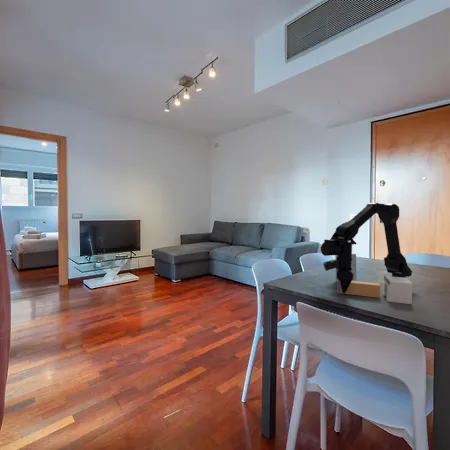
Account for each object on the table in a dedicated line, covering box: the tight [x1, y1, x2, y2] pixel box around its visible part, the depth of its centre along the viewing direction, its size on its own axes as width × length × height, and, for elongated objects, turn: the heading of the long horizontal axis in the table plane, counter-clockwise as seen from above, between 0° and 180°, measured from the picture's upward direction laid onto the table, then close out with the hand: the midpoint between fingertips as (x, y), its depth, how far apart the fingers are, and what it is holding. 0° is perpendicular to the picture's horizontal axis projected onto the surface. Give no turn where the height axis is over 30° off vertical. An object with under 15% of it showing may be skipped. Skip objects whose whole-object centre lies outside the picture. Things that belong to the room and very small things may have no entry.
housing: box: [382, 275, 413, 305], centre depth 110 cm, size 10×8×8 cm
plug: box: [336, 280, 381, 298], centre depth 116 cm, size 4×16×5 cm, turn 68°
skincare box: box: [334, 252, 357, 282], centre depth 135 cm, size 8×6×15 cm
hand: (343, 290), depth 118 cm, fingers open, 8 cm apart
